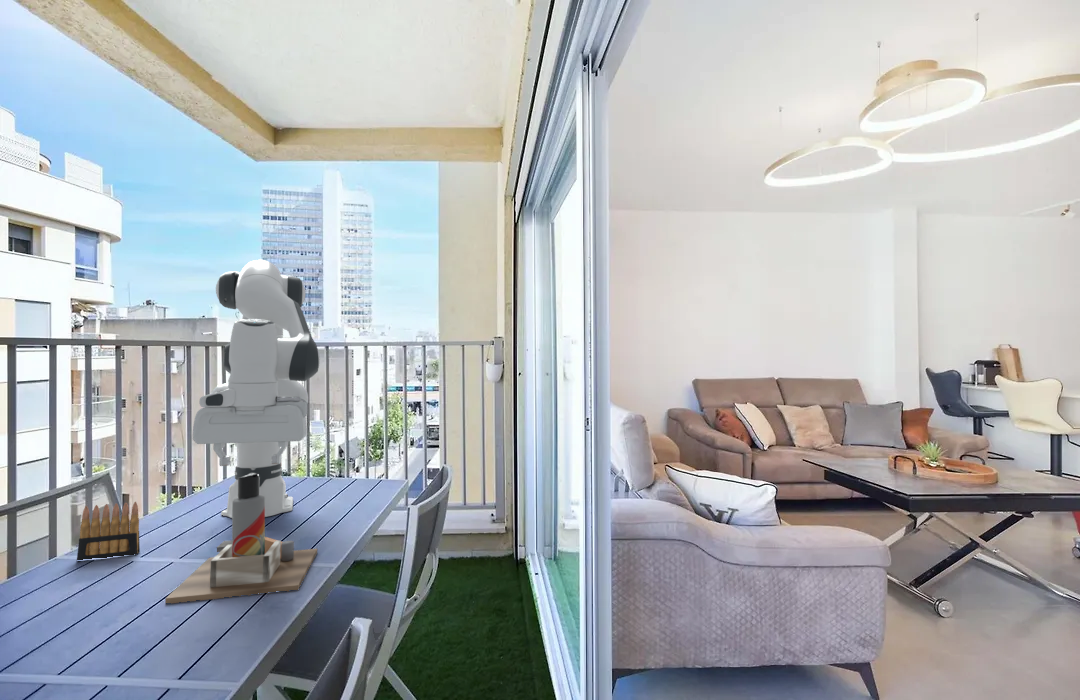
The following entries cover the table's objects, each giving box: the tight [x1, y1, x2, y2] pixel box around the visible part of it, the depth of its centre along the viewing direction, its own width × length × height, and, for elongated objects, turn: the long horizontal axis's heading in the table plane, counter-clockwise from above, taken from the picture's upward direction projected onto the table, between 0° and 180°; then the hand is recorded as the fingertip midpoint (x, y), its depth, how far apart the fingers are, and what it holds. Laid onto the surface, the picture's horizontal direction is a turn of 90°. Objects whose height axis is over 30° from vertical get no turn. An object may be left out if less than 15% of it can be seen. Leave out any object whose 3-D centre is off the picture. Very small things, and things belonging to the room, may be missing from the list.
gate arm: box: [265, 536, 295, 561], centre depth 109 cm, size 13×2×4 cm, turn 60°
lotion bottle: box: [231, 473, 266, 557], centre depth 99 cm, size 6×6×20 cm
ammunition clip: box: [76, 501, 141, 561], centre depth 110 cm, size 11×2×12 cm, turn 113°
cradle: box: [164, 539, 318, 604], centre depth 101 cm, size 20×22×6 cm
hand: (251, 464), depth 100 cm, fingers open, 8 cm apart
